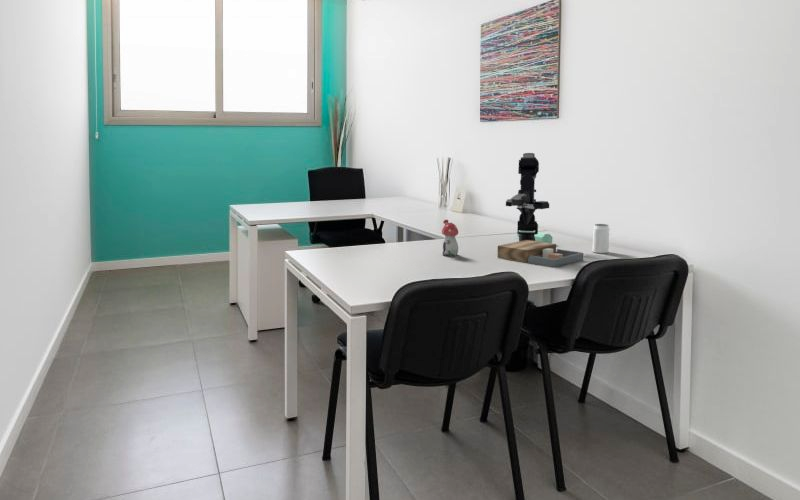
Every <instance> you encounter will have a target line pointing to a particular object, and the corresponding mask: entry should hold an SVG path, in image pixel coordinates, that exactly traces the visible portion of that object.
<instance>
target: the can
mask: <svg viewBox="0 0 800 500" xmlns="http://www.w3.org/2000/svg"><path fill="white" fill-rule="evenodd" d="M592 233H593V234H592V235H593V236H592V252H593V253H594V254H601V255H602V254H608V253H609V247H610V246H609V245H610V227H609V224H608V223H607V224H605V223H595V224H594V226H593V231H592Z"/></svg>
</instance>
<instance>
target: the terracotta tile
mask: <svg viewBox="0 0 800 500" xmlns="http://www.w3.org/2000/svg"><path fill="white" fill-rule="evenodd" d="M562 257H563V254H558V253H552V254H548V258H549V259H558V258H562Z"/></svg>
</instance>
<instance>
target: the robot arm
mask: <svg viewBox="0 0 800 500" xmlns="http://www.w3.org/2000/svg"><path fill="white" fill-rule="evenodd" d="M539 165H540V162H539V159H537V157H536V156H535V153H533V152H525V153H523V155H522V156H521V157H520V159H519V160H518V172H517V173H518V174H519V175H520V181H519V183H520V189H518V191H517V194H515V195H514V196H512V197H511V198H508V199H506V201H505V206H506V207H512V206H513V207H516V210H518V211H519V212H520V214H519V220H517V227H516V228H517V230H516V231H517V232H516V235H517V234H519V237H518V242H519V241H524V240H531V241H535V237H534V236H535V235H536V234H538V232H539V224H538V221H536V216H535V214H534V213H535V212H536V210H544V209H550V202H548V200H547V201H546V200H537V199H536V198H535V193H537V189H535V181H536V178H537V174H538V173H539V171H540V166H539ZM519 230H520V231H519ZM530 231H535V232H530Z"/></svg>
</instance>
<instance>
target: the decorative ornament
mask: <svg viewBox="0 0 800 500" xmlns="http://www.w3.org/2000/svg"><path fill="white" fill-rule="evenodd" d="M443 225H444V226H443V227H442V229H441V234H442V235H443V236H445V237H444V240H443V243H442V250H443V251H442V256H443V257H456V256H457V255H458V253H459V244H458V241H457V238H456V236H458V235H459V229H458V227H457V225H456V224H455V223H453V222H449V220H448V219H444V220H443Z"/></svg>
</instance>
